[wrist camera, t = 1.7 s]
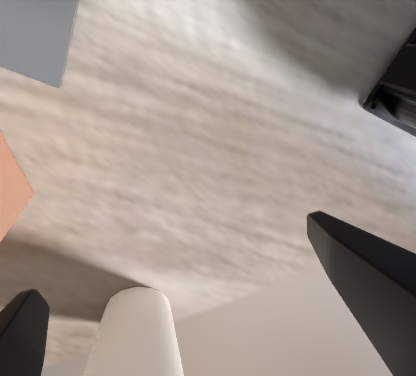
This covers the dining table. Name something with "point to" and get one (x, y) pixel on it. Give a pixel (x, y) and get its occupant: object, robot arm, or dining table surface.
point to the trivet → (36, 37)
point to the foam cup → (135, 337)
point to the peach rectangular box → (11, 188)
